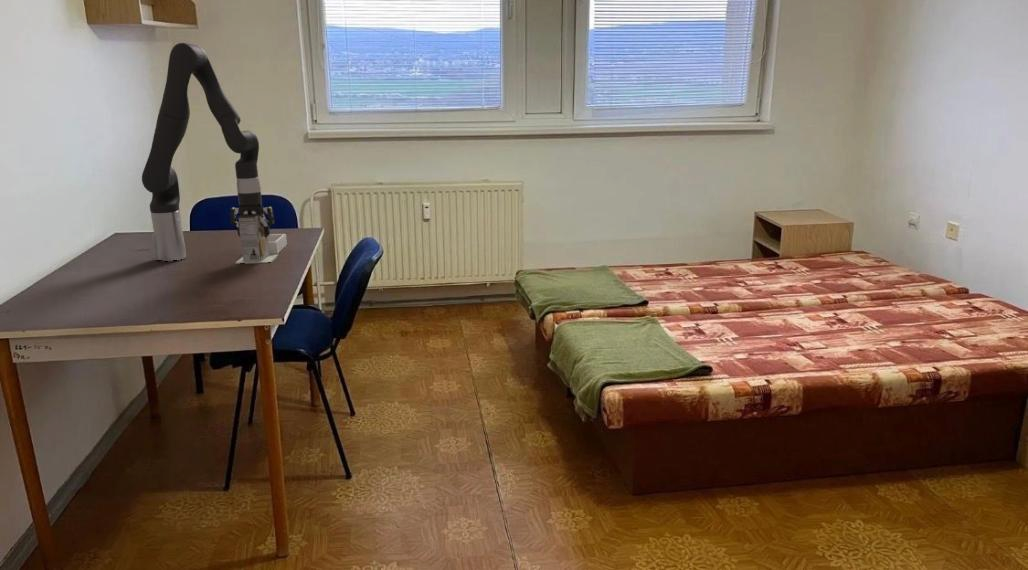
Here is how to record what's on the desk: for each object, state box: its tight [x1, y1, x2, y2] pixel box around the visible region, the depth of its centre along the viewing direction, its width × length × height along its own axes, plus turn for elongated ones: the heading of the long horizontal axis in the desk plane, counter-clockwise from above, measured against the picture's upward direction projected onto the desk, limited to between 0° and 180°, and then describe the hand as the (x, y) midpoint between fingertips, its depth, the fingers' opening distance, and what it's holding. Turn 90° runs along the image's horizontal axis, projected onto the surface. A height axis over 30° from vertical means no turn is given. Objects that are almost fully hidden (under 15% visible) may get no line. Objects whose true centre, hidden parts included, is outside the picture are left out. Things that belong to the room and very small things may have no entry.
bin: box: [267, 233, 288, 255], centre depth 269 cm, size 11×14×4 cm
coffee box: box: [237, 211, 270, 262], centre depth 254 cm, size 9×6×16 cm
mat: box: [235, 254, 279, 265], centre depth 256 cm, size 12×10×1 cm
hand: (254, 236), depth 254 cm, fingers open, 8 cm apart
